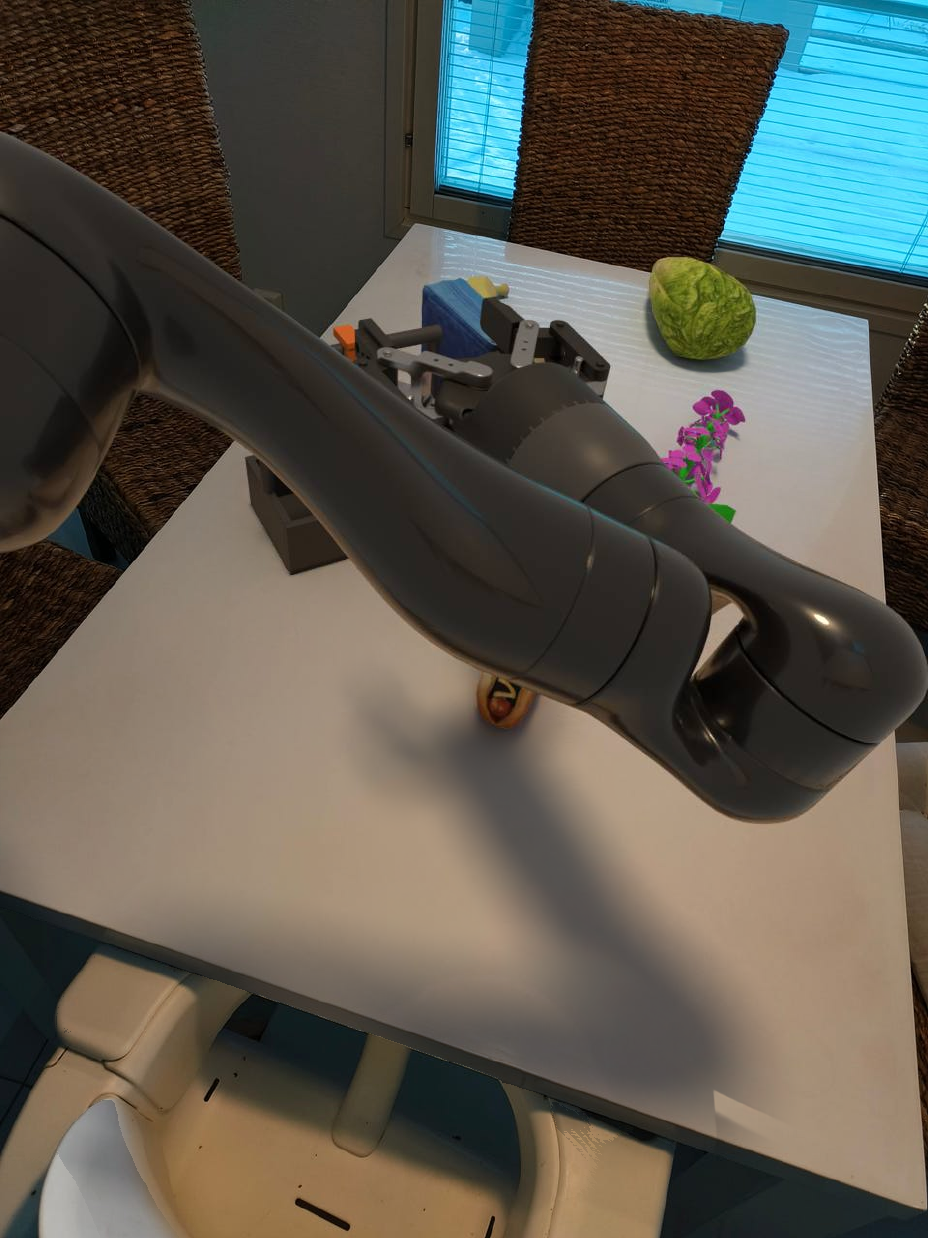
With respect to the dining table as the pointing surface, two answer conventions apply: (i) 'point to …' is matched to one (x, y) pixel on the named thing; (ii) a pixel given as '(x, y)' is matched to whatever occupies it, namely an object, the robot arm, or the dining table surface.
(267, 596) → the dining table surface
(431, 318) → the book
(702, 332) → the lettuce
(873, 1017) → the dining table surface
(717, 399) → the potted plant
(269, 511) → the basket
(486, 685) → the hot dog
